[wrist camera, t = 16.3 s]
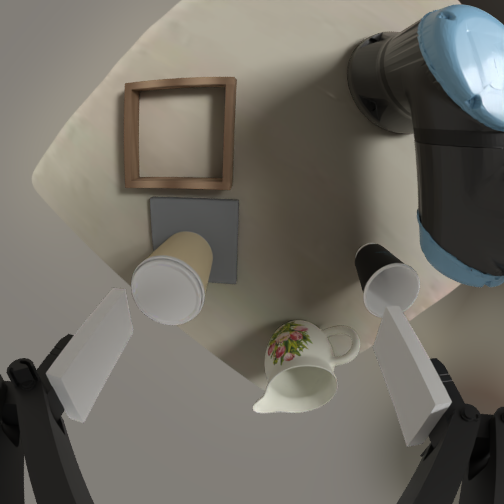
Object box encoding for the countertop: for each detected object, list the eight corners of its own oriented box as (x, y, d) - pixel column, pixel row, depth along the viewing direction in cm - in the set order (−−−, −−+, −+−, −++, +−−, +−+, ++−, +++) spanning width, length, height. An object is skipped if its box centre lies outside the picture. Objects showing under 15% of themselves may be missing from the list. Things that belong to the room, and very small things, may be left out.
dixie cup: (349, 285, 48) (367, 325, 38) (341, 240, 45) (359, 274, 35) (394, 272, 47) (420, 308, 37) (389, 227, 44) (418, 256, 34)
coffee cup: (148, 238, 46) (115, 273, 35) (202, 216, 44) (180, 248, 33) (176, 289, 49) (152, 334, 38) (228, 271, 47) (216, 316, 36)
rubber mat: (239, 199, 44) (238, 201, 43) (236, 281, 49) (235, 284, 48) (152, 196, 44) (149, 198, 43) (157, 275, 49) (155, 277, 48)
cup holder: (236, 80, 37) (234, 76, 34) (232, 185, 43) (229, 190, 40) (133, 85, 38) (125, 83, 35) (133, 183, 44) (125, 187, 41)
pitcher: (359, 331, 52) (379, 387, 39) (272, 370, 56) (271, 428, 44) (336, 286, 48) (355, 340, 36) (241, 331, 53) (232, 390, 40)
